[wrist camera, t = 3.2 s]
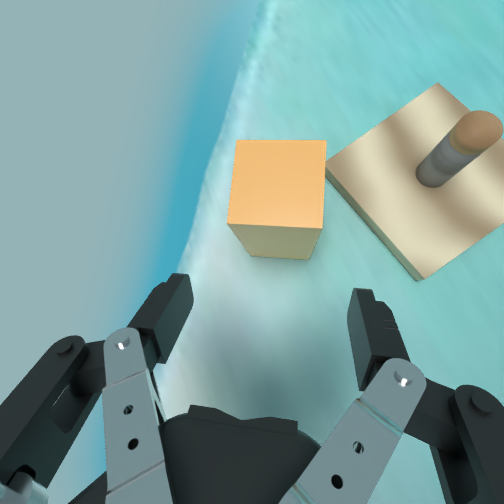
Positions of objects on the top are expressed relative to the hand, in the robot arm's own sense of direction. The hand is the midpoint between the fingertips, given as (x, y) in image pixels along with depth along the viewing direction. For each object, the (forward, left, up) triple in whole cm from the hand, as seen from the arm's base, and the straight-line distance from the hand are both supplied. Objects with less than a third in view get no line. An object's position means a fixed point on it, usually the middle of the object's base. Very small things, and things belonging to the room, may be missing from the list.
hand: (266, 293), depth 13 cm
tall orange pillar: (-4, -5, -11) cm, 13 cm away
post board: (-17, -1, -11) cm, 21 cm away
